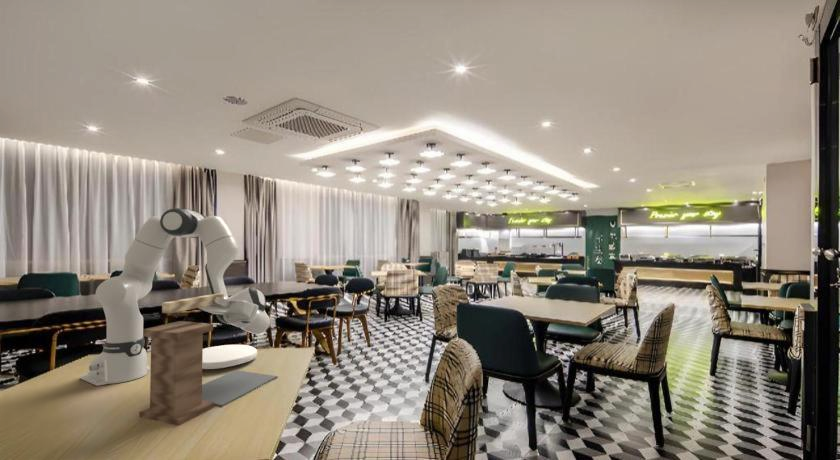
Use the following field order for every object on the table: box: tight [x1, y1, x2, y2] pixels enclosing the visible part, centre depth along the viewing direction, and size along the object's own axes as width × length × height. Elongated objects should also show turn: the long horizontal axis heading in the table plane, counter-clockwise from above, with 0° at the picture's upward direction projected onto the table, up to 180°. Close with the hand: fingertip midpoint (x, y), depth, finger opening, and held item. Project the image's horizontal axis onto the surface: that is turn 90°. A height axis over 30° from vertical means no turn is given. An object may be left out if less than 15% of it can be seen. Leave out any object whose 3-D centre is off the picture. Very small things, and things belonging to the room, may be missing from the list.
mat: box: [202, 369, 279, 408], centre depth 134 cm, size 20×26×1 cm
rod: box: [161, 293, 224, 314], centre depth 121 cm, size 20×3×3 cm, turn 162°
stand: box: [138, 320, 215, 426], centre depth 115 cm, size 16×12×26 cm
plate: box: [202, 344, 258, 370], centre depth 160 cm, size 28×6×27 cm
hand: (209, 298), depth 126 cm, fingers closed on rod, 3 cm apart
